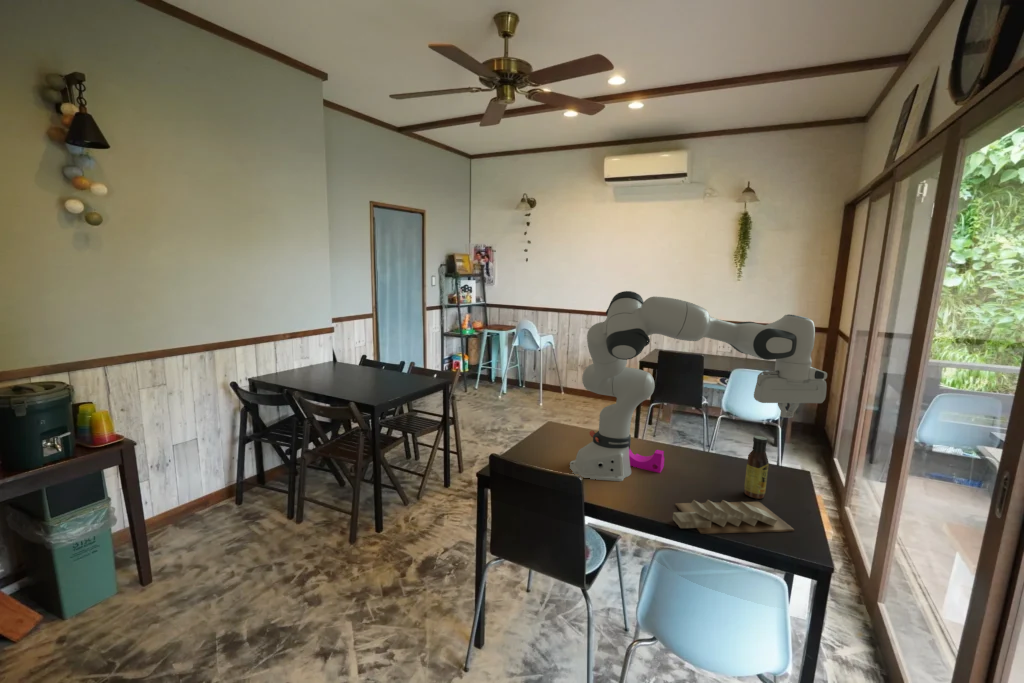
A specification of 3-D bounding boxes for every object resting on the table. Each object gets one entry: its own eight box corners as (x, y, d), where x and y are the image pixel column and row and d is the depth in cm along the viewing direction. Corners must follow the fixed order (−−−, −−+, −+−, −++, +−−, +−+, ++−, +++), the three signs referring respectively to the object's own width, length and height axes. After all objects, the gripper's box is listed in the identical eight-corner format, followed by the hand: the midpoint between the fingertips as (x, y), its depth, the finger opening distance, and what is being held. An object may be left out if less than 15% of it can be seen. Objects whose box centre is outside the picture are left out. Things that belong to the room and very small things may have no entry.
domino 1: (710, 527, 130) (680, 528, 129) (701, 518, 135) (672, 518, 134) (711, 520, 129) (681, 521, 129) (702, 511, 134) (673, 512, 133)
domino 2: (723, 527, 130) (698, 514, 129) (714, 517, 135) (689, 505, 134) (727, 521, 130) (702, 508, 128) (717, 512, 135) (693, 499, 133)
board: (700, 533, 127) (701, 531, 127) (675, 505, 143) (675, 503, 143) (794, 531, 130) (794, 529, 130) (758, 503, 146) (759, 501, 146)
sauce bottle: (764, 501, 147) (771, 442, 144) (742, 496, 151) (749, 438, 148) (765, 493, 153) (772, 437, 150) (744, 488, 156) (750, 433, 153)
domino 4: (754, 526, 131) (728, 514, 130) (743, 517, 136) (719, 505, 135) (757, 520, 131) (732, 508, 130) (747, 511, 136) (722, 499, 134)
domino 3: (738, 526, 131) (713, 513, 129) (728, 517, 136) (703, 505, 134) (741, 520, 130) (716, 508, 129) (731, 511, 135) (707, 499, 134)
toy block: (663, 467, 172) (665, 448, 171) (660, 473, 166) (661, 454, 165) (624, 459, 179) (625, 440, 178) (619, 464, 174) (621, 445, 173)
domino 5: (774, 526, 131) (748, 516, 130) (762, 517, 136) (737, 507, 135) (777, 520, 131) (751, 509, 130) (765, 511, 136) (740, 501, 135)
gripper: (765, 373, 128) (760, 420, 130) (832, 373, 130) (826, 420, 132) (751, 368, 134) (746, 413, 136) (816, 369, 136) (810, 413, 138)
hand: (786, 417), depth 134 cm, fingers closed
